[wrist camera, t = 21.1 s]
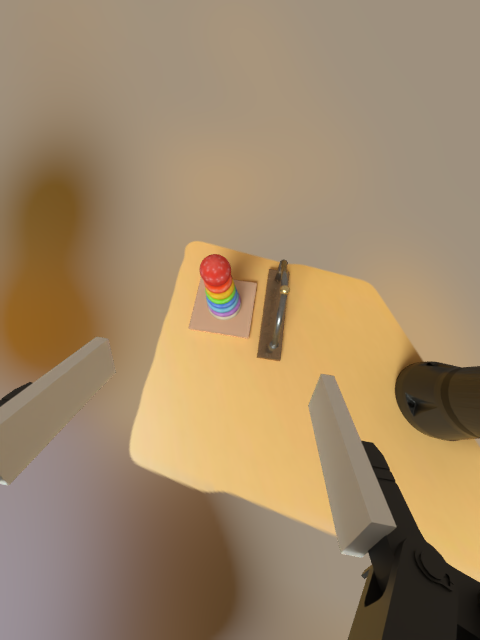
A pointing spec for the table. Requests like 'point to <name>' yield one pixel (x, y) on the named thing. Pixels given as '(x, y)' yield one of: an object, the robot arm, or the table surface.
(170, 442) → the table surface
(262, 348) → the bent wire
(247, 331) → the terracotta pad
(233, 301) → the stacking toy
